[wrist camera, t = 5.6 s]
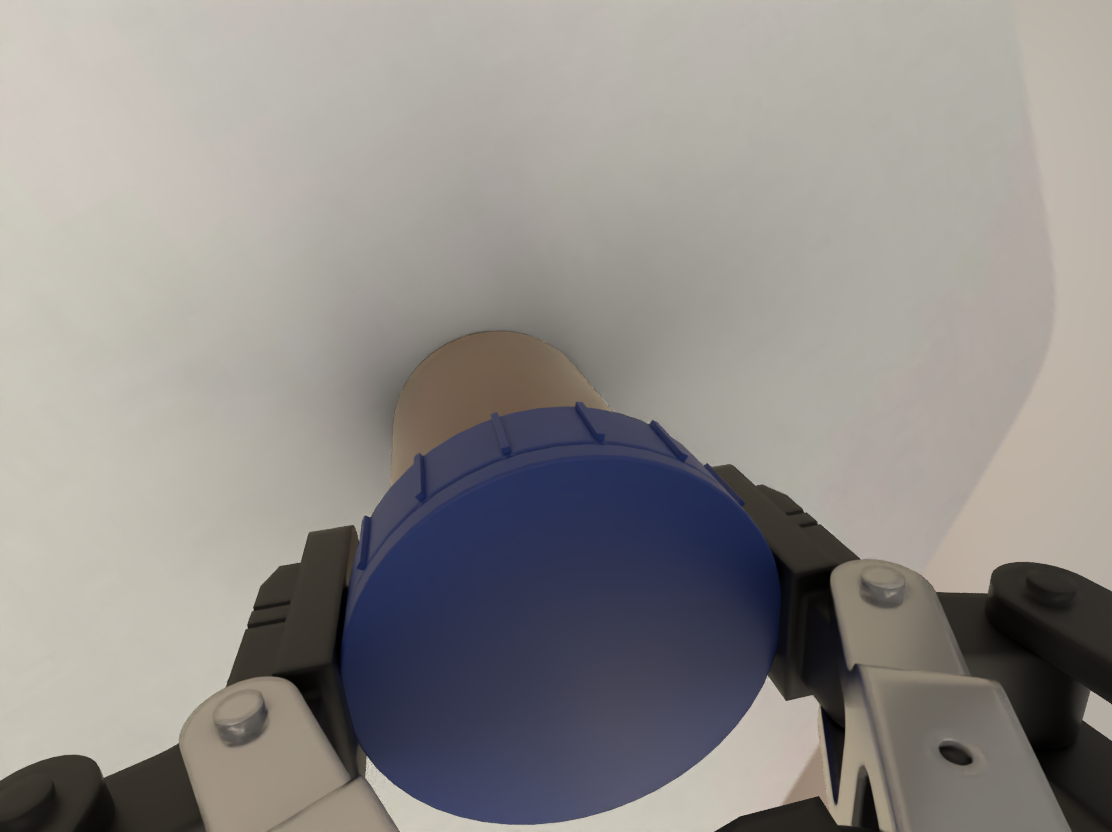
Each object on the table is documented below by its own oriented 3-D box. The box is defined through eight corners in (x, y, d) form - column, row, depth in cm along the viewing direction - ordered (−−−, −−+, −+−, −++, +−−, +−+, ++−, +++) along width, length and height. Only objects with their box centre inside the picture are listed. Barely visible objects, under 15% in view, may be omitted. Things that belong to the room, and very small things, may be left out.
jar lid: (310, 433, 9) (289, 496, 7) (738, 377, 10) (802, 421, 8) (383, 766, 11) (379, 869, 10) (724, 693, 12) (772, 776, 11)
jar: (629, 441, 18) (795, 646, 10) (476, 552, 18) (527, 834, 11) (518, 287, 16) (623, 400, 8) (348, 414, 16) (296, 639, 9)
